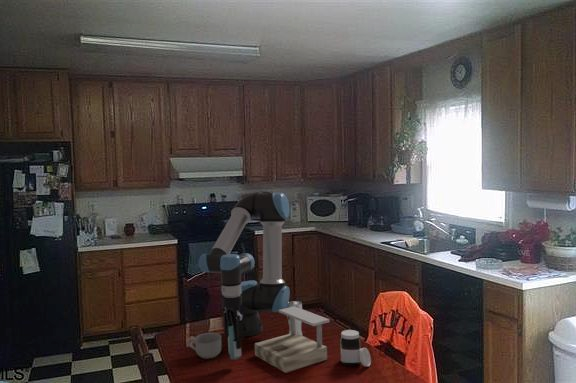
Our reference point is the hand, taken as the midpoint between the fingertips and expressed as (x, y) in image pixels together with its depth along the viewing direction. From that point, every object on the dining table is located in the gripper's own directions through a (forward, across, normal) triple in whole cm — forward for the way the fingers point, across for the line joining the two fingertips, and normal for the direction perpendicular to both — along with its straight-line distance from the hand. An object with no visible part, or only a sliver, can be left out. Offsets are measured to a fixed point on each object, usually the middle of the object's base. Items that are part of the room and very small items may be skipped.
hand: (235, 354), depth 192 cm
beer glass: (+6, -13, +38) cm, 40 cm away
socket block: (+5, +6, +22) cm, 23 cm away
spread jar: (+5, +27, +38) cm, 47 cm away
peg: (+1, 0, 0) cm, 1 cm away
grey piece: (0, +6, +29) cm, 29 cm away
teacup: (+5, -18, -4) cm, 19 cm away
